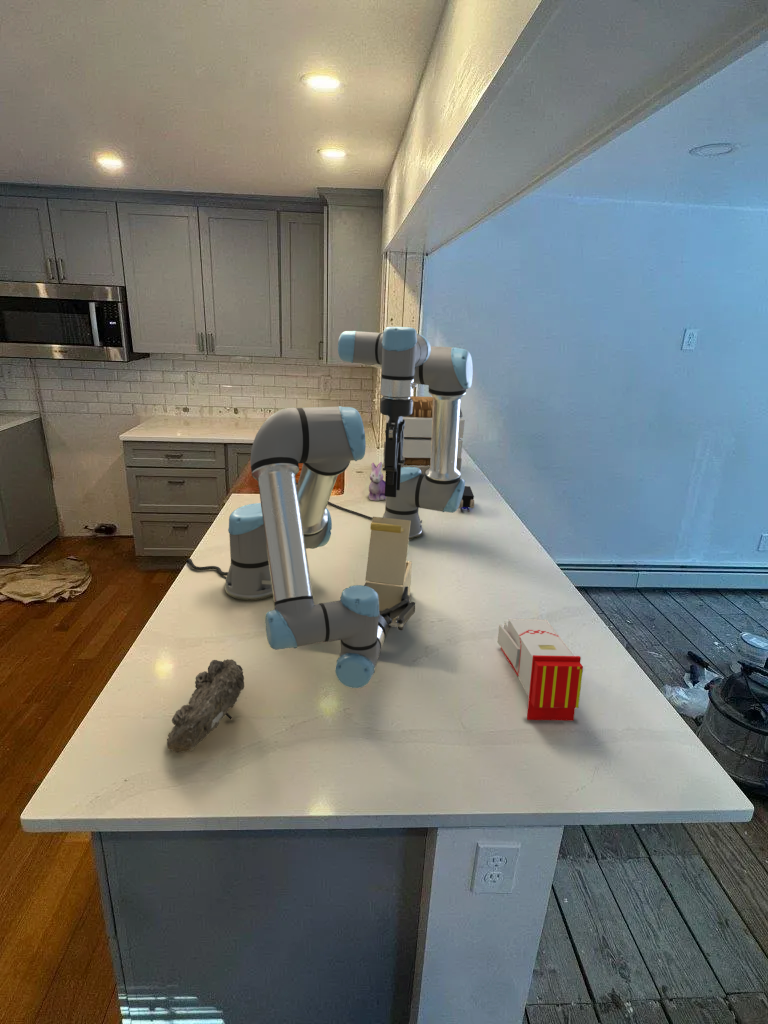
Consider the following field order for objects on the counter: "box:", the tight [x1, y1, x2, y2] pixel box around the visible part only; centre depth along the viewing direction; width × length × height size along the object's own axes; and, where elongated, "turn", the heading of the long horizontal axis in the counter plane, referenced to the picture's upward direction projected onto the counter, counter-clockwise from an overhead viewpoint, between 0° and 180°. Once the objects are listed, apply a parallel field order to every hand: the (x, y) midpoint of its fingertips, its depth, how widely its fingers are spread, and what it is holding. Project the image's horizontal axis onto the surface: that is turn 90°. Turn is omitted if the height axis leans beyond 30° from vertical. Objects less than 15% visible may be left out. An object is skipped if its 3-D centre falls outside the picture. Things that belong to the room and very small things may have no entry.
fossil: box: [166, 658, 245, 754], centre depth 106 cm, size 22×10×15 cm
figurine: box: [367, 461, 386, 502], centre depth 234 cm, size 9×10×15 cm
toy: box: [497, 618, 584, 722], centre depth 122 cm, size 12×13×30 cm
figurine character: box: [458, 485, 475, 513], centre depth 228 cm, size 7×8×15 cm
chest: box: [365, 560, 413, 621], centre depth 150 cm, size 15×10×10 cm, turn 169°
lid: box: [365, 516, 411, 585], centre depth 138 cm, size 16×10×9 cm
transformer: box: [382, 395, 465, 475], centre depth 268 cm, size 34×33×41 cm
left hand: (386, 588), depth 146 cm, fingers closed on chest, 10 cm apart
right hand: (392, 492), depth 139 cm, fingers open, 5 cm apart
